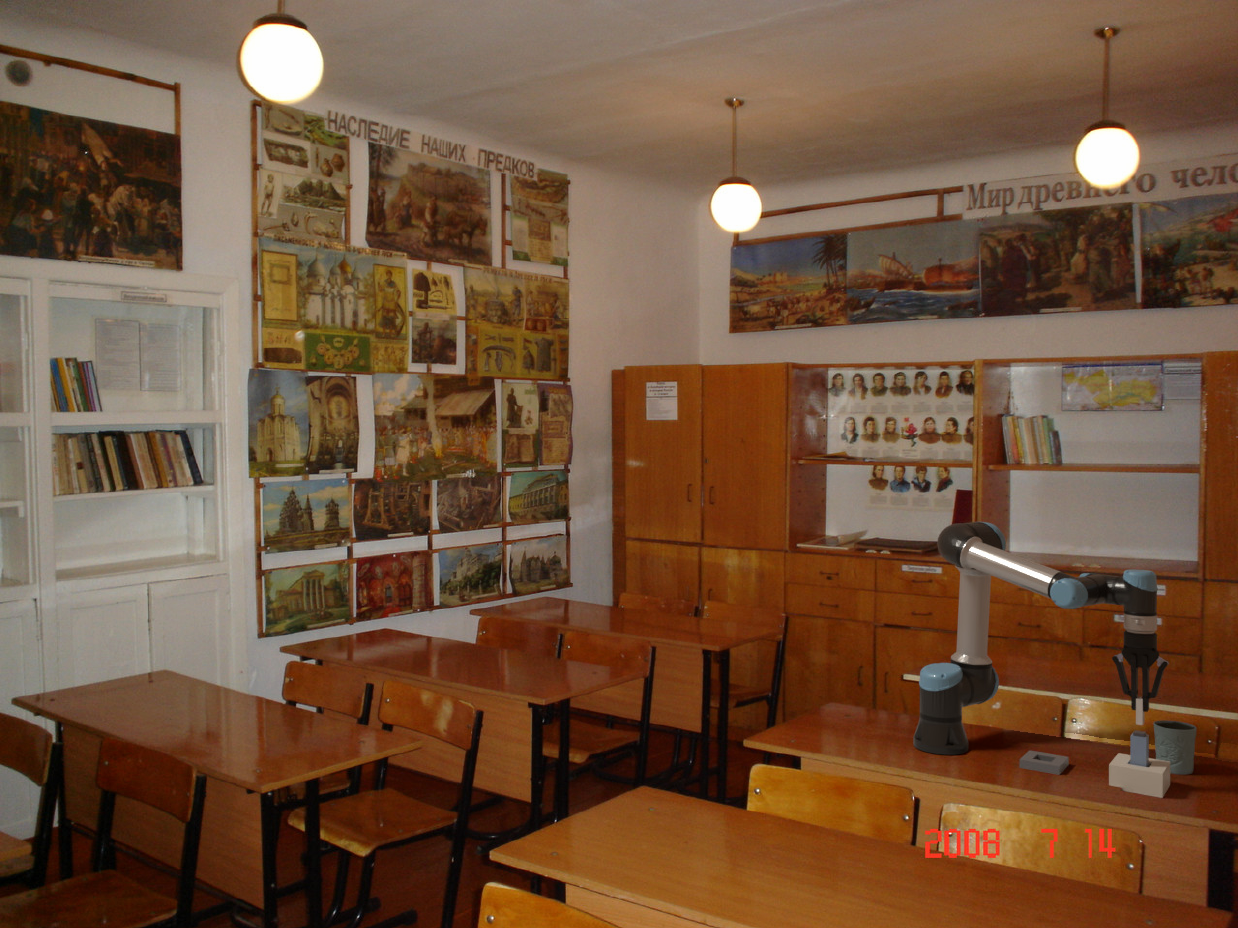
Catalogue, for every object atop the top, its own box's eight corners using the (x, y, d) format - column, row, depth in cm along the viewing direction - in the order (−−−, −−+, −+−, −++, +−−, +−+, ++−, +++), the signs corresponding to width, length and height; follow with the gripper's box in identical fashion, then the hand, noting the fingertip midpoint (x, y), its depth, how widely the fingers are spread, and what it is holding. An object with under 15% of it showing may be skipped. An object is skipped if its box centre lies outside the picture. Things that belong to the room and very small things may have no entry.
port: (1108, 788, 249) (1109, 764, 249) (1118, 775, 259) (1118, 752, 259) (1162, 797, 242) (1162, 773, 242) (1170, 784, 251) (1170, 761, 251)
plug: (1130, 782, 250) (1130, 732, 250) (1132, 778, 253) (1133, 729, 253) (1146, 785, 248) (1146, 734, 248) (1148, 781, 251) (1148, 731, 250)
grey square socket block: (1019, 770, 263) (1019, 759, 263) (1029, 760, 271) (1029, 750, 271) (1059, 777, 257) (1059, 766, 257) (1068, 767, 265) (1068, 756, 265)
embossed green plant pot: (1155, 772, 261) (1155, 727, 261) (1150, 761, 271) (1151, 718, 270) (1199, 777, 257) (1199, 731, 257) (1193, 765, 267) (1193, 721, 267)
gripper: (1109, 630, 251) (1109, 722, 251) (1166, 635, 243) (1166, 731, 243) (1114, 626, 257) (1114, 716, 257) (1171, 631, 249) (1171, 724, 249)
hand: (1140, 723), depth 250 cm, fingers closed
